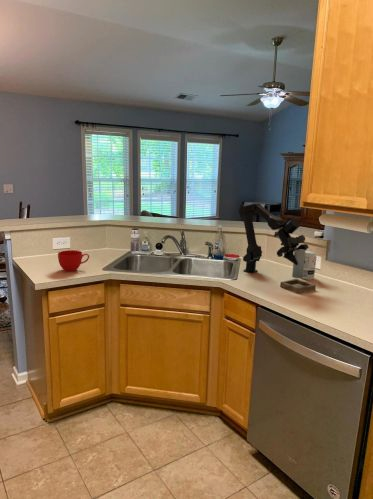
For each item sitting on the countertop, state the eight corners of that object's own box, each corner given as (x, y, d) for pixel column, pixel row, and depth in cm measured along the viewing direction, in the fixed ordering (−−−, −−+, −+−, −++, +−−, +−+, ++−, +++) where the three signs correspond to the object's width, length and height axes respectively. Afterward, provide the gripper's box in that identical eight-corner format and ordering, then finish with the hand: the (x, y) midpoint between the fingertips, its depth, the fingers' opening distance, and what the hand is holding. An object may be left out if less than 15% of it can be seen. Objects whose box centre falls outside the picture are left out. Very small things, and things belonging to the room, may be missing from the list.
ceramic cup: (91, 271, 204) (91, 254, 202) (60, 274, 197) (59, 256, 195) (87, 265, 216) (86, 249, 214) (57, 268, 208) (56, 251, 206)
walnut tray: (280, 286, 190) (280, 281, 189) (296, 283, 196) (296, 278, 196) (299, 293, 180) (299, 288, 179) (315, 289, 186) (315, 285, 186)
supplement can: (298, 275, 212) (300, 250, 208) (313, 276, 210) (315, 251, 207) (299, 279, 204) (302, 253, 201) (314, 280, 202) (317, 254, 199)
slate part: (294, 274, 191) (296, 248, 188) (304, 276, 188) (306, 250, 185) (290, 276, 187) (293, 250, 184) (300, 278, 184) (303, 251, 181)
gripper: (282, 231, 181) (298, 257, 174) (307, 228, 191) (323, 253, 184) (270, 243, 189) (284, 269, 182) (294, 240, 199) (309, 265, 192)
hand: (300, 264), depth 185 cm, fingers closed on slate part, 5 cm apart
